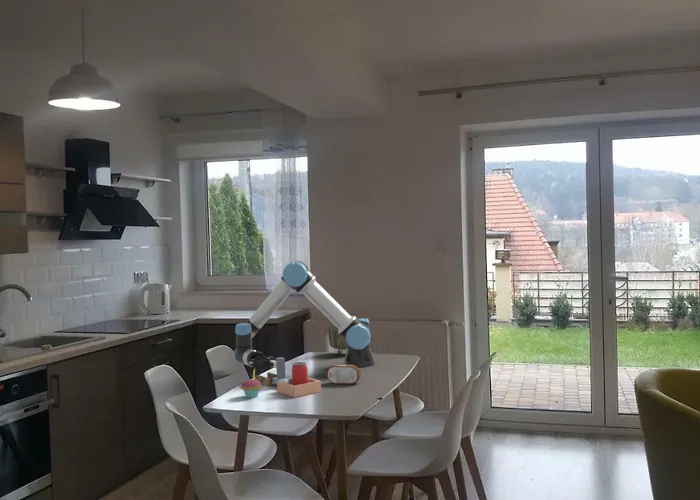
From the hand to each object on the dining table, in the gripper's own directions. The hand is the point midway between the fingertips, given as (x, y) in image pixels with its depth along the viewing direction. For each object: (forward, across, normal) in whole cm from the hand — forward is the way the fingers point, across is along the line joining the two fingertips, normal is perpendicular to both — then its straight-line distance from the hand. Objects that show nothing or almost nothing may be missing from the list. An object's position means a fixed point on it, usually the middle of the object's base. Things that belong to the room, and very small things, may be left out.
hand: (278, 365), depth 281 cm
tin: (+18, -22, -9) cm, 30 cm away
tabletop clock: (-39, -62, -9) cm, 74 cm away
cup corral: (+16, 0, -9) cm, 19 cm away
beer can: (+17, 0, -9) cm, 19 cm away
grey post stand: (+6, 0, -9) cm, 11 cm away
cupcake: (+9, +18, -9) cm, 22 cm away
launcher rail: (-8, 0, -9) cm, 12 cm away
